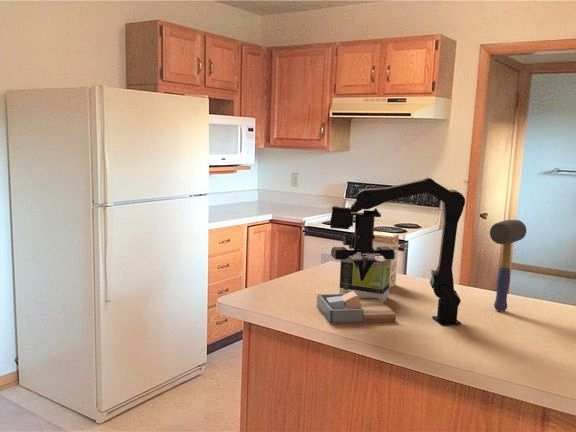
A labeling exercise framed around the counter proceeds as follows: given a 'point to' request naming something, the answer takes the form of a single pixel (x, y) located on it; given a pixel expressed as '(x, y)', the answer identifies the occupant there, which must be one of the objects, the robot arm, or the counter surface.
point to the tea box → (366, 279)
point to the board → (376, 311)
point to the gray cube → (335, 302)
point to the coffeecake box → (392, 242)
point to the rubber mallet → (505, 255)
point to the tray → (338, 311)
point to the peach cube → (351, 300)
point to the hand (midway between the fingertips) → (361, 280)
